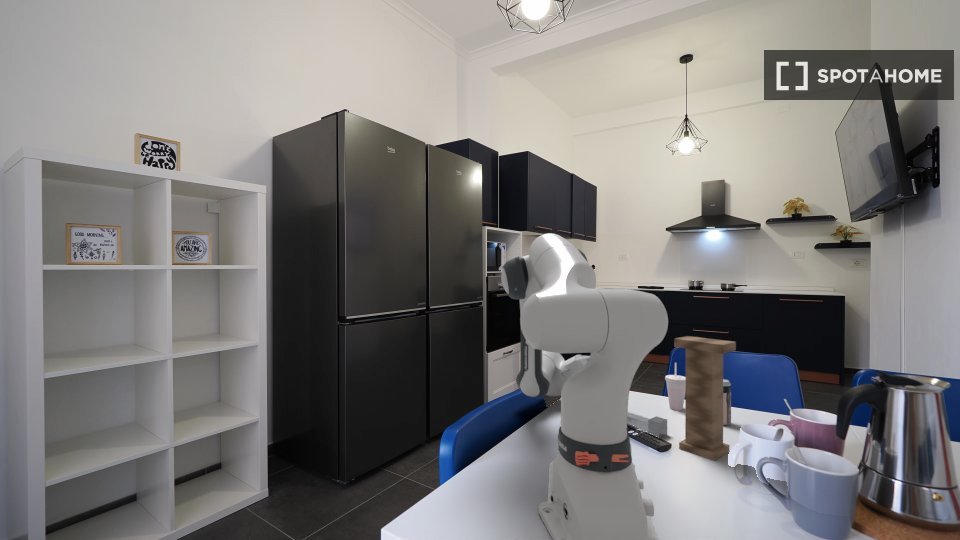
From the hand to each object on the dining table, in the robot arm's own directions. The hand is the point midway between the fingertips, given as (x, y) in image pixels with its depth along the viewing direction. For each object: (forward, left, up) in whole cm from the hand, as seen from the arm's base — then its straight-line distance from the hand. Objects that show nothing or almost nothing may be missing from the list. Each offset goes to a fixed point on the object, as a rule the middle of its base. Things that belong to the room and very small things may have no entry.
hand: (614, 353), depth 116 cm
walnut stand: (-19, -16, -19) cm, 31 cm away
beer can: (-1, -30, -19) cm, 35 cm away
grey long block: (-4, -3, -19) cm, 20 cm away
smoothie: (+11, -23, -19) cm, 32 cm away
